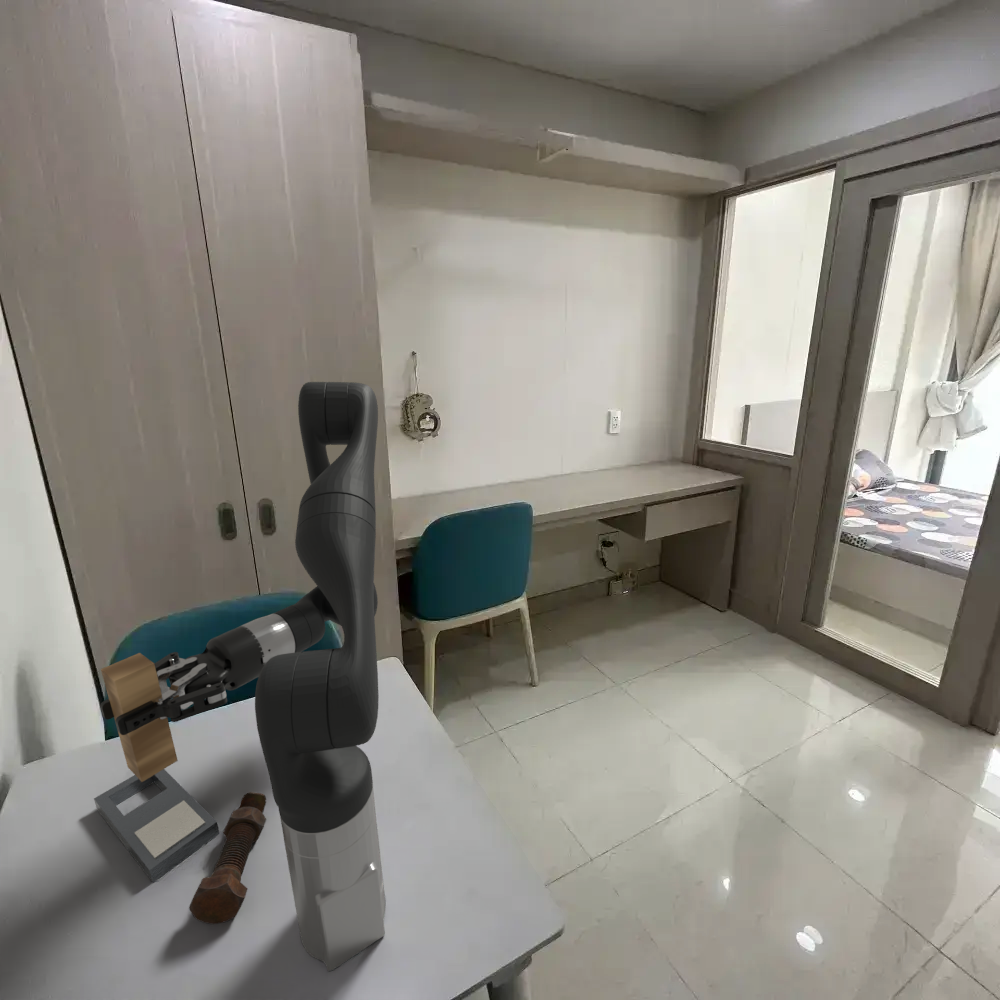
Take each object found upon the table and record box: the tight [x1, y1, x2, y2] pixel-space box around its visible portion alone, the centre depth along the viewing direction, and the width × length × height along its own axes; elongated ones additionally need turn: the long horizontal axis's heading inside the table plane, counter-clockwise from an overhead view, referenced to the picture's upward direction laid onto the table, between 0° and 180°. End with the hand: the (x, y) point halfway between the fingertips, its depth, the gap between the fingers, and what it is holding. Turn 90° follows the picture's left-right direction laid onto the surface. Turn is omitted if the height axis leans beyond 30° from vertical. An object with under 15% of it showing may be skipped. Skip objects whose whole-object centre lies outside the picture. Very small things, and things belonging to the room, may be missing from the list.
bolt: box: [188, 791, 267, 925], centre depth 64 cm, size 6×5×15 cm
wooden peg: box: [100, 652, 179, 782], centre depth 62 cm, size 4×4×14 cm
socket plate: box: [93, 768, 221, 883], centre depth 70 cm, size 18×8×2 cm, turn 55°
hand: (111, 719), depth 59 cm, fingers closed on wooden peg, 4 cm apart
